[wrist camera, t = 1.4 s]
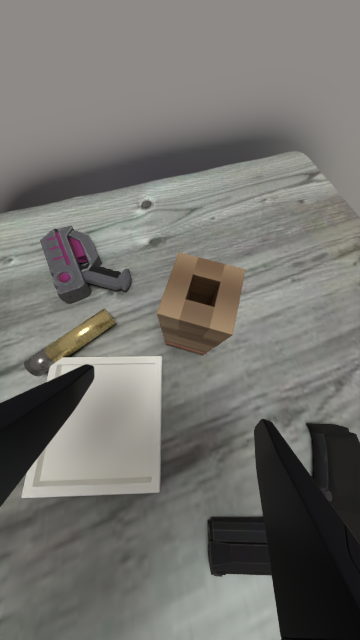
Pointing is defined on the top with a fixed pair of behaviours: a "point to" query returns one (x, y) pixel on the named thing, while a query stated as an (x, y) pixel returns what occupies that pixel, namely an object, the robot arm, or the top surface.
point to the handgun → (331, 477)
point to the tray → (105, 433)
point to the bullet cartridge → (69, 343)
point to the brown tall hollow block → (200, 303)
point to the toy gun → (78, 265)
